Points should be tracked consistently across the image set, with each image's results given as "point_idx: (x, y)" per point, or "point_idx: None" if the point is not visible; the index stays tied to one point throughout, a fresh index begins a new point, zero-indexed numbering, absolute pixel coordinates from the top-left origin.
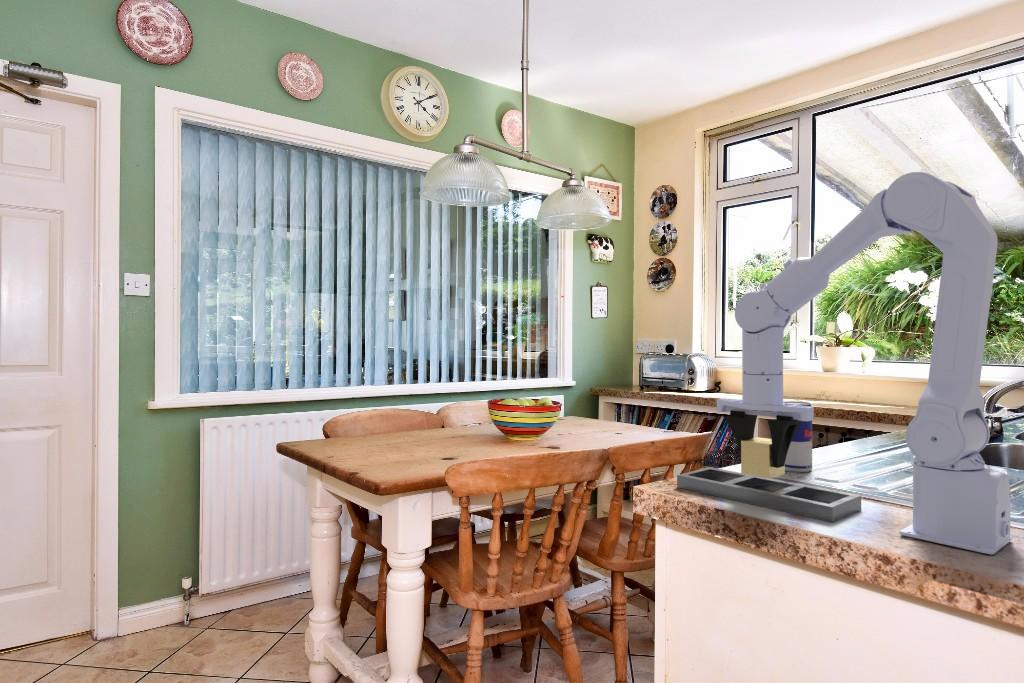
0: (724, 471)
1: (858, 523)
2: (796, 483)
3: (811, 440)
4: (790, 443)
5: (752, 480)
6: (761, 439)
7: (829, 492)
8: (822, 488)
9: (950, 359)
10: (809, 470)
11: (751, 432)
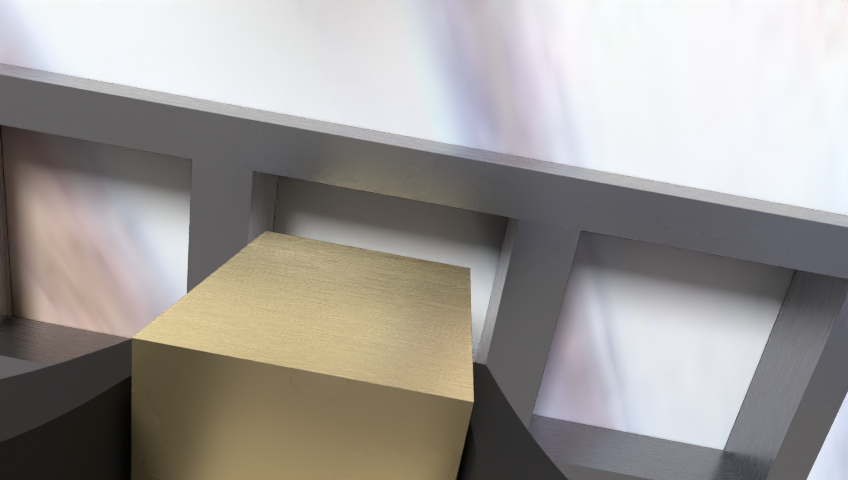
0: (35, 124)
1: (845, 443)
2: (518, 172)
3: None
4: (555, 465)
5: (257, 189)
6: (244, 455)
7: (731, 257)
8: (685, 205)
9: None
10: None
11: (77, 458)
